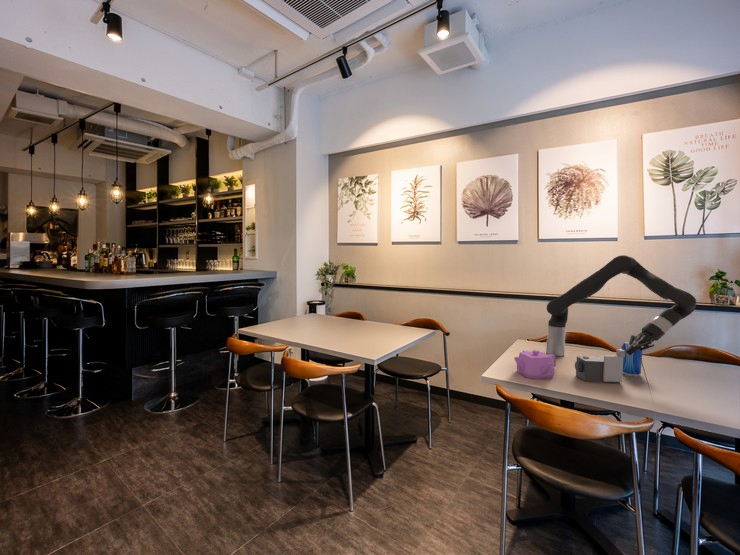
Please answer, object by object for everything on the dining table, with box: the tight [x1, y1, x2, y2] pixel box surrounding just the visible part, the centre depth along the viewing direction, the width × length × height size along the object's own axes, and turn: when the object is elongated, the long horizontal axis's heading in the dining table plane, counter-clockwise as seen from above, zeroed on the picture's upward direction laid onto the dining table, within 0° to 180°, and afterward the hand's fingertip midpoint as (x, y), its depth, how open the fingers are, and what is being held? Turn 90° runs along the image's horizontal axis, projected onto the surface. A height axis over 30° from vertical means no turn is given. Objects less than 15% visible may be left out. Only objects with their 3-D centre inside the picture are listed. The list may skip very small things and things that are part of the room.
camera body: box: [574, 355, 621, 384], centre depth 169 cm, size 18×8×11 cm, turn 86°
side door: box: [603, 348, 625, 383], centre depth 164 cm, size 8×3×15 cm, turn 86°
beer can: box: [620, 340, 643, 378], centre depth 177 cm, size 8×8×16 cm
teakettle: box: [513, 349, 556, 380], centre depth 175 cm, size 17×17×12 cm
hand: (627, 353), depth 163 cm, fingers closed
